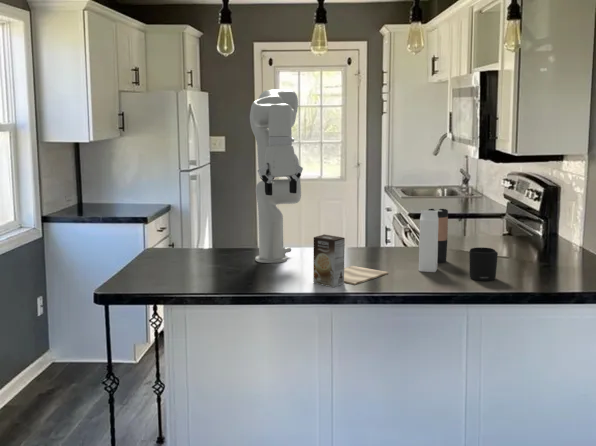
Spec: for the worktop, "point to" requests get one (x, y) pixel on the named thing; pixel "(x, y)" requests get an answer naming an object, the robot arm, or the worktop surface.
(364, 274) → the tan wooden board
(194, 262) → the worktop surface
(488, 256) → the pen holder
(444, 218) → the travel mug
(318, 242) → the coffee box
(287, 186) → the robot arm
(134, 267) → the worktop surface
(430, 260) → the milk
